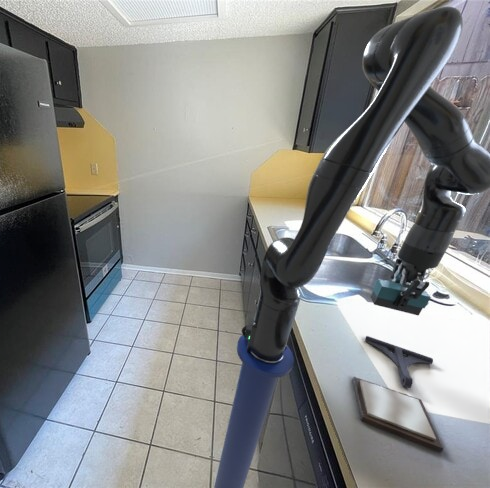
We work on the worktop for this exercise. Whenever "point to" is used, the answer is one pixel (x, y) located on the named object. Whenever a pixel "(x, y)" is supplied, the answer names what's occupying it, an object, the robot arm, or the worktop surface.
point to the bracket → (400, 359)
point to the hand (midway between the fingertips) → (395, 302)
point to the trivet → (395, 413)
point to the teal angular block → (388, 293)
